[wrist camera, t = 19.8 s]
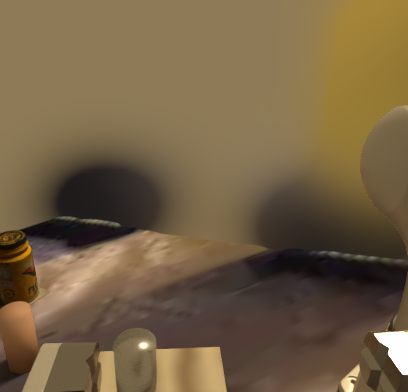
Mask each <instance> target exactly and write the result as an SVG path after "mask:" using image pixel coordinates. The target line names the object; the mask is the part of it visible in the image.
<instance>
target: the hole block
mask: <svg viewBox="0 0 408 392" xmlns="http://www.w3.org/2000/svg"><path fill="white" fill-rule="evenodd" d="M98 361H99V362H100V363H101V369H102V379H101V390H100V392H117V388H116V376H115V364H114V352H113V351H105V352H100V354H99V358H98ZM156 365H157V392H227V391H226V385H225V379H224V372H223V366H222V360H221V353H220V347H208V348H182V349H157V350H156Z"/></svg>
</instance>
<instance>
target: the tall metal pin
mask: <svg viewBox="0 0 408 392" xmlns="http://www.w3.org/2000/svg"><path fill="white" fill-rule="evenodd" d="M113 352H114V364H115V376H116V388H117V392H157V365H156V338H155V336H154V335H153V334H152V333H151V332H150V331H148V330H146V329H143V328H132V329H128V330H126V331H124V332H122V333H121V334H119V335H118V336H117V337H116V339H115V341H114V343H113Z"/></svg>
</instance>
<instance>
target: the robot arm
mask: <svg viewBox="0 0 408 392" xmlns="http://www.w3.org/2000/svg"><path fill="white" fill-rule="evenodd" d="M360 174H361V179H362V183H363V186H364V189H365V191H366V193H367V195H368V197H369V199H370V200H371V202H372V203H373V204H374V206H375V207H376V208H377V209H378V210H379V211H380V212H381V213H382V214H384V215H385V216H386V217H387V218H388V219H389V220H390V221H391V222H392V223H393V224H394V226H395V227H396V228H397V230H398V231H399V233H400V234H401V236H402V238H403V240H404V242H405V245H406V248H407V254H408V105H406V106H399V107H396V108H394V109H392V110H391V111H390V112H389V113H387V114H386V115H385V116H384V117H383V118H382V119H381V120H380V121H379V122H378V123H377V124H376V125H375V126H374V128H373V129H372V131H371V132H370V134H369V135H368V137H367V139H366V142H365V144H364V146H363V150H362V153H361V160H360ZM364 343H365V344H366V346H367V347H366V348H365V349H364V350H363V351H362V352H361V353H360V358H359V364H358V365H357V366H356V367H355V368H354V369H353V370H352V371H351V372H350V373H349V374H348V375H347V376H345V377H344V378H343V379H342V380H341V382H340V384H339V387H338V388H339V392H408V274H407V279H406V284H405V288H404V293H403V296H402V300H401V304H400V307H399V311H398V313H396V314H395V315H394V316H393V318H392V319H391V322H390V324H389V326H388V327H387V330H386V331H376V332H368V333H367V334H366V336H365V339H364ZM99 354H100V350H99V344H98V343H47V344H43V346H42V347H41V348H40V350H39V352H38V355H37V357H36V359H35V362H34V364H33V366H32V369H31V371H30V373H29V376H28V378H27V380H26V383H25V385H24V388H23V390H22V392H100V390H101V379H102V369H101V363H100V362H99V361H98V358H99ZM352 383H353V384H355V385H353V384H352Z"/></svg>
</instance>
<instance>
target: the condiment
mask: <svg viewBox="0 0 408 392" xmlns="http://www.w3.org/2000/svg"><path fill="white" fill-rule="evenodd" d="M49 292H50V291H47V290H45V289H43V288H41V287H39V286H38V283H37V277H36V272H35V267H34V261H33V254H32V249H31V247H30V246H29V245H28V241H27V236H26V234H25V233H24V232H22V231H16V230H14V231H6V232H3V233H0V309H1V308H2V307H4V306H5V305H7V304H10V303H13V302H18V301H22V302H27V303H28V304H29V305H31V304H33V303H34V302H35V301H37V300H38V299H40V298H42V297H43V296H45V295H46V294H48V293H49Z"/></svg>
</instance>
